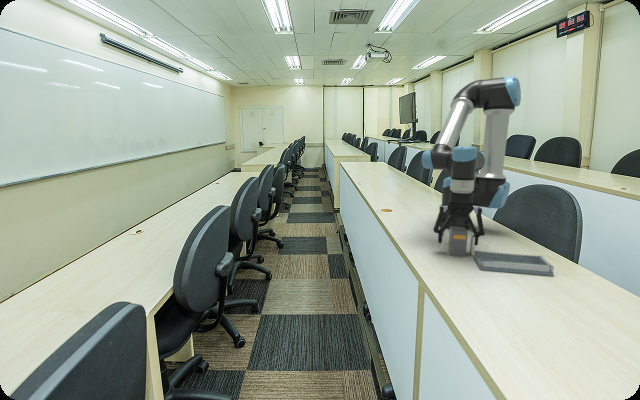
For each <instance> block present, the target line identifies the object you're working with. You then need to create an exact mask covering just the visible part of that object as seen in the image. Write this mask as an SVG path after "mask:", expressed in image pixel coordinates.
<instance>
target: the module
mask: <svg viewBox="0 0 640 400" xmlns="http://www.w3.org/2000/svg"><path fill="white" fill-rule="evenodd" d="M448 237H449V238H448V248H447V249H448V253H449V255H450V256H453V257H463V258H464V257H466V256H467V246H468V229H465V227H451V226H450V229H449V236H448Z"/></svg>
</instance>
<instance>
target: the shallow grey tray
mask: <svg viewBox="0 0 640 400" xmlns="http://www.w3.org/2000/svg"><path fill="white" fill-rule="evenodd" d="M473 259H474V261H475V262H476V265H477V267H478V268H479V270H480V271H485V272H486V271H487V272H497V273H498V272H499V273H511V274H521V275H525V274H526V275H534V276H545V277H546V276H547V277H554V274H555V273H554V268H555V267H554V265H552V264H551V263H550V262H549V261H548V260H547V259H545V257H544V256H543V255H534V254H524V253H523V254H521V253H511V252H510V253H508V252H506V253H505V252H493V251H480V250H478V251H477V250H474V255H473Z"/></svg>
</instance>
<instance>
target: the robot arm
mask: <svg viewBox="0 0 640 400" xmlns="http://www.w3.org/2000/svg"><path fill="white" fill-rule="evenodd" d="M521 90H522V89H521V83H520V80H519V78H518V77H516V76H501V77H497V78H496V77H495V78H487V79H478V80H474V81H472V82H469V83H467V84H466V85H465V86H463V88H461V89H460V90H459V91H458V92H457V93H456V94H455V95H454V97H453V98H452V100H451V102H450V105H449V106H450V111H449V112H448V115H447V117H446V119H445V121H444V123H443V125H442V128H441V130H440V132H439V134H438V137H436V141H435V142H434V145H433V147H432V148H431V149H426V150H425V151H423V153H422V155H421V164H422V167H423V168H424V169H427V170H428V169H429V170H439V171H440V170H441V171H450V172H451V173H450V176H448V177H445V178H444V179H443V183H442V192H441V193H442V195H441V204H440V205H439V210H438V211H439V212H438V214H437V218H436V221H435V223H434V227H433V232H434V233H435V234H438V235H437V237H438V238H437V242H438V243H439V244H440V252H441V253H443V254H444V251H445V250H444V249H445V240H446V239H445V238H446V237H445V236H446V235H445V231H446V230H447V229H449V230H450V226H451V227H465V229H466V230H469V229H471V231H472V233H473V234H471V237H470V249H469V254H470V255H471V256H475V246H478V245H479V238H480V237H481V236H485V235H486V234H485V229H484V228H485V227H484V224H483V218H482V213H483V208H488V209H497V210H498V209H501V208H503V207H504V206H505V204H506V203H507V199H508V198H509V197H508V196H509V193H510V188H511V187H510V186H511V183H510V182H508V181H507V177H506V176H505V175H504V166H505V165H504V164H505V158H506V147H507V139H508V133H509V124H510V117H511V115H512V114H513V113H514V112H515V110H516V107H519V106H520V105H521V101H522V100H521V99H522V92H521ZM475 109H482V112H483V114H484V115H485V125H484V132H483V134H484V135H483V143H482V151H481V150H478V148H477V147H476V146H473V145H472V146H470V145H469V146H468V145H467V146H464V145H462V146H460V145H459V146H457V145H456V144H457V142H458V139H459V137H460V136H461V133H462V131H463V129H464V127H465V124H466V122H467V119H468V117H469V115H471V114H472V113H473V112H474V110H475ZM478 171H479V173H477V174H476V172H478ZM472 212H474V213H475V216H476V221H477V226H478V230H477V228H476V226H475V225H474V222H473V220H472V218H471V215H470V214H471V213H472Z"/></svg>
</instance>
